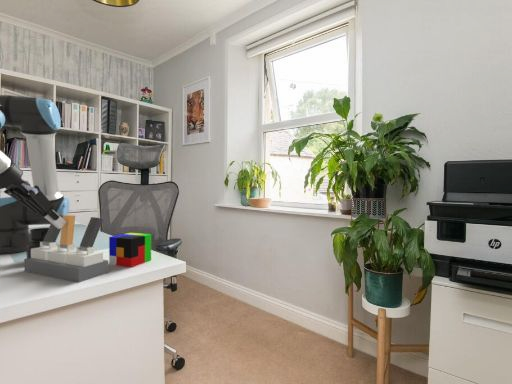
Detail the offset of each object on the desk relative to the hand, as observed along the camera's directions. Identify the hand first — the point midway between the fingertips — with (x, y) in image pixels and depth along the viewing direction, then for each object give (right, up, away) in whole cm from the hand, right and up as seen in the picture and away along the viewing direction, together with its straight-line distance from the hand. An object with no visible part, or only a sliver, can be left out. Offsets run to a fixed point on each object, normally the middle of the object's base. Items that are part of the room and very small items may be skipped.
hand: (62, 225), depth 90 cm
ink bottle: (-17, -15, +14) cm, 26 cm away
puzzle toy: (+16, -16, +14) cm, 26 cm away
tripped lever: (0, -7, +2) cm, 7 cm away
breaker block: (0, -15, +2) cm, 16 cm away
